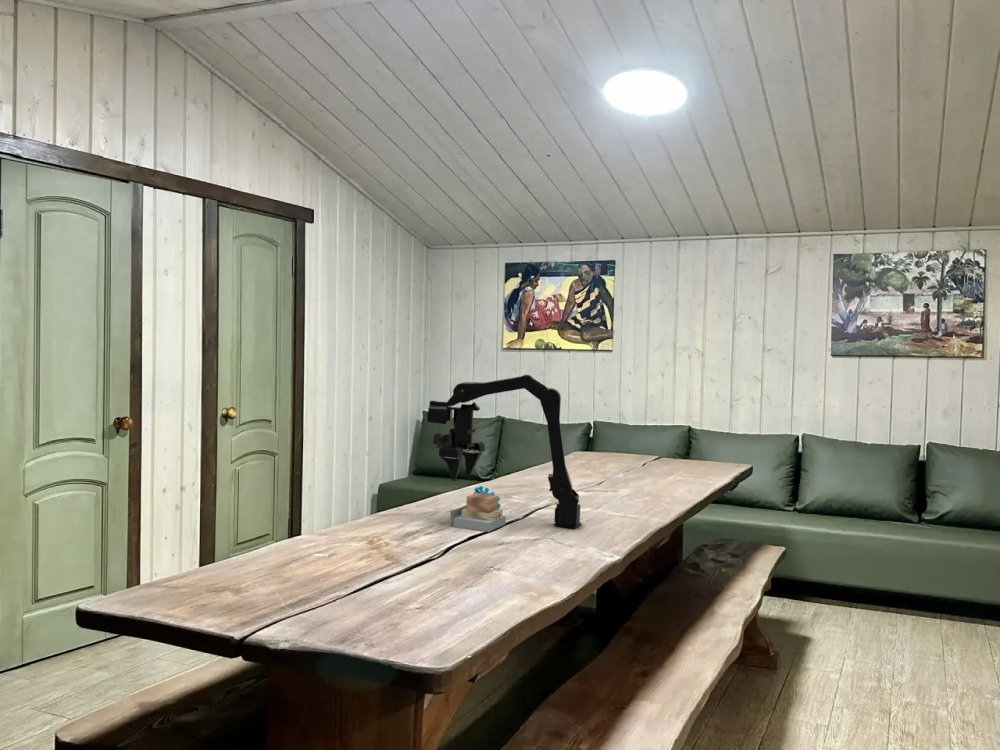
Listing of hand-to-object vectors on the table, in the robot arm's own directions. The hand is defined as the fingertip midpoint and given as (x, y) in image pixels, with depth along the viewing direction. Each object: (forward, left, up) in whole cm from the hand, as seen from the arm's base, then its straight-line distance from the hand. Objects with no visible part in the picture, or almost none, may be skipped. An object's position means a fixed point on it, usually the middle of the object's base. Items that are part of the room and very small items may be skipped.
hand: (461, 478), depth 233 cm
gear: (-2, -15, -12) cm, 19 cm away
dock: (-9, +4, -12) cm, 15 cm away
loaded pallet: (-9, +4, -10) cm, 14 cm away
